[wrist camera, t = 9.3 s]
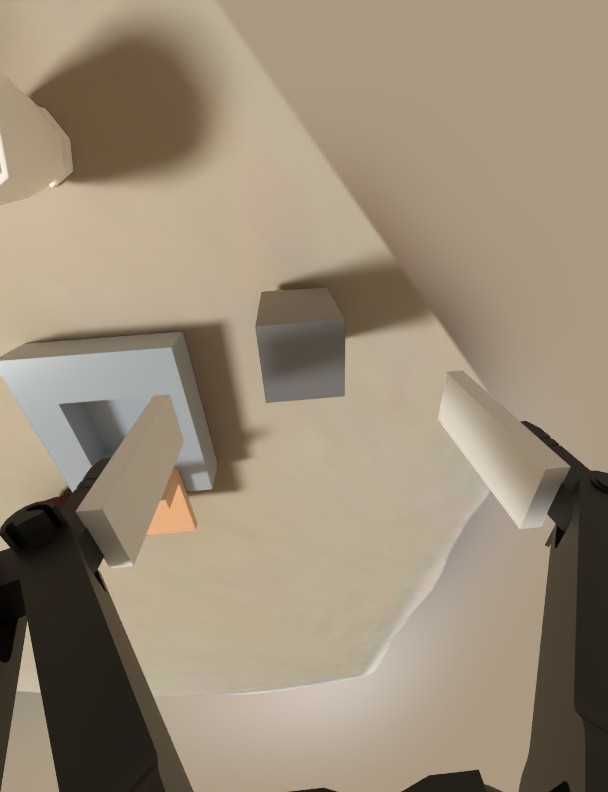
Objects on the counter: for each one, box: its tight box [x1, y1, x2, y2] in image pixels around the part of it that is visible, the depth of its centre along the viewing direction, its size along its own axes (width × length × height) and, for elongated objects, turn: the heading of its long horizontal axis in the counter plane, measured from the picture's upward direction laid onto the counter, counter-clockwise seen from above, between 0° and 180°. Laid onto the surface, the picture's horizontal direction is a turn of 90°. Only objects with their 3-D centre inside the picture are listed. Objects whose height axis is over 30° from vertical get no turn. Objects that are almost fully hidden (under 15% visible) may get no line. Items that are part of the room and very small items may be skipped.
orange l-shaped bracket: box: [146, 468, 197, 535], centre depth 30 cm, size 8×8×4 cm
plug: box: [255, 287, 345, 403], centre depth 23 cm, size 5×5×9 cm
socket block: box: [0, 331, 218, 493], centre depth 29 cm, size 15×13×4 cm
